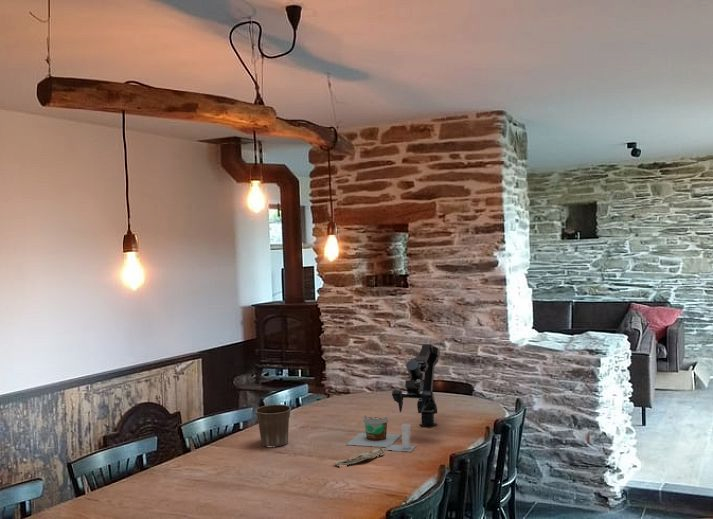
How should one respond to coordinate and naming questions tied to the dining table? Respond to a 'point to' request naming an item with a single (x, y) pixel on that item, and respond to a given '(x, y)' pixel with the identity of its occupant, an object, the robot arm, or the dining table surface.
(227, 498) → the dining table surface
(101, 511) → the dining table surface
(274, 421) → the plant pot
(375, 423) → the food container
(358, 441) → the pull board
